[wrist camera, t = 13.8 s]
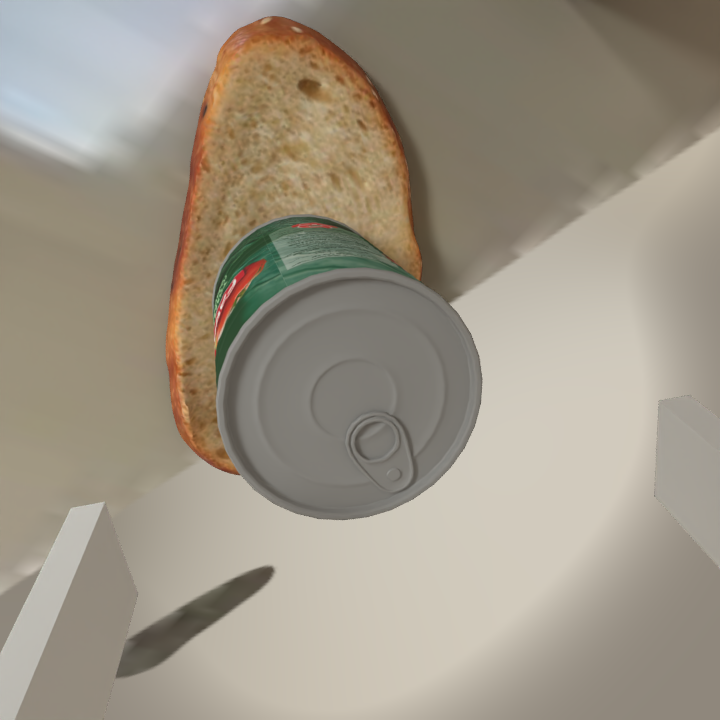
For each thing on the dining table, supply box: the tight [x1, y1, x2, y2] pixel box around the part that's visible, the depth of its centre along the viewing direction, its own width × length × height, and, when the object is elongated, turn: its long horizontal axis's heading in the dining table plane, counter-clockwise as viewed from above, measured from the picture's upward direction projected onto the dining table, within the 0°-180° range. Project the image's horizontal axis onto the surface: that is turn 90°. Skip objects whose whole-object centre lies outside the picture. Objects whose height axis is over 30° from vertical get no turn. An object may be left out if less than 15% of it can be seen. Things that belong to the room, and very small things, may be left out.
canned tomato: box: [212, 214, 482, 520], centre depth 24 cm, size 8×8×11 cm
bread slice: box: [166, 16, 422, 475], centre depth 30 cm, size 18×18×4 cm
